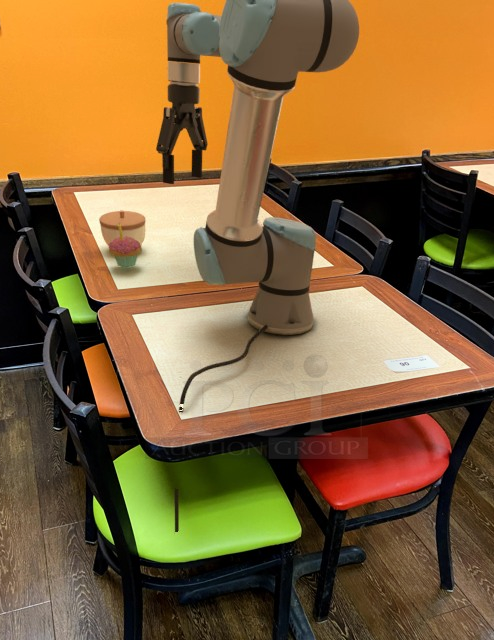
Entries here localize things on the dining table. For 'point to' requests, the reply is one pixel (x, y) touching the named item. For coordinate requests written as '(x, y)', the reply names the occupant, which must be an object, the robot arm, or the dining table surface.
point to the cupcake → (125, 250)
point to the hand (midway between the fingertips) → (183, 180)
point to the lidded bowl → (122, 225)
